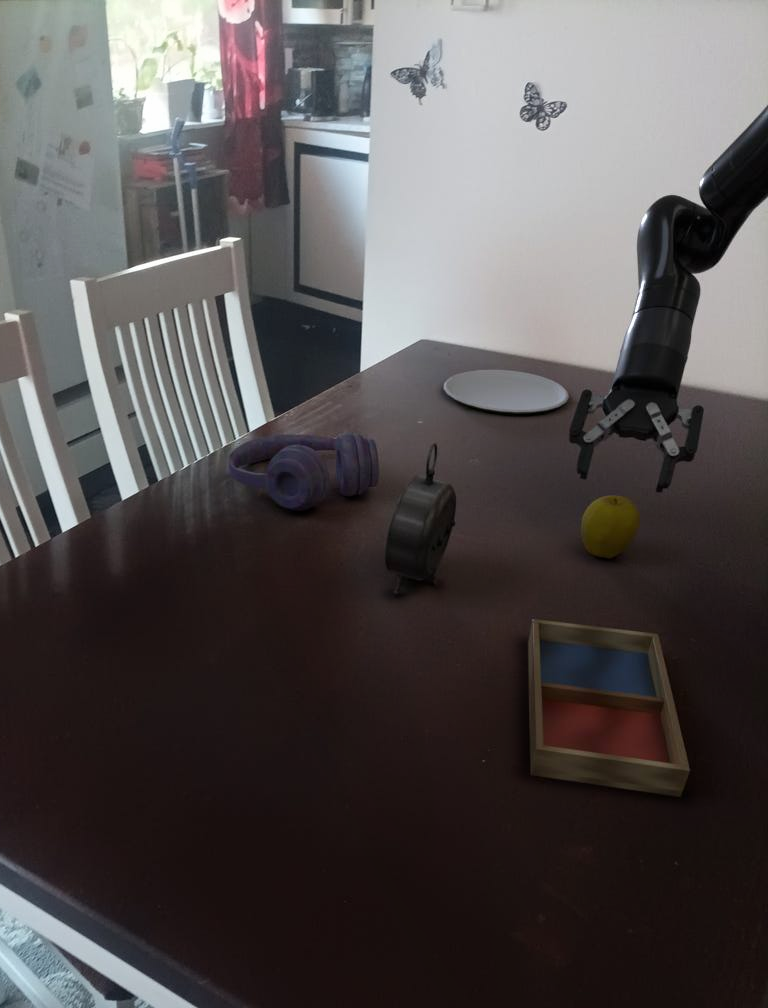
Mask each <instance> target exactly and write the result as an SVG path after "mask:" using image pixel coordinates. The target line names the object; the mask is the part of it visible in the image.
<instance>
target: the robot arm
mask: <svg viewBox="0 0 768 1008" xmlns="http://www.w3.org/2000/svg"><path fill="white" fill-rule="evenodd" d="M698 194H699V198H700V200H701V202H702V204H703V205H704V206H702V205H700V204H699V203H696V202H694V201H692V200H690V199H687V198H685V197H684V196H681V195H676V194H668V195H667V194H666V195H664V196H662V197H660V198H658V199H657V200H655V201H654V202H653V203H652V204H651V205H650V206H649V207H648V208H647V210H646V212H645V213H644V214H643V217H642V219H641V221H640V223H639V227H638V231H637V235H636V236H637V237H636V261H637V263H636V264H637V287H638V289H637V290H638V291H637V296H636V299H635V303H634V307H633V311H632V315H631V319H630V322H629V324H628V326H627V329H626V331H625V334H624V337H623V341H622V345H621V348H620V351H619V352H620V353H619V356H618V360H617V364H616V367H615V372H614V376H613V381H612V383H611V387H610V390H609V392H608V393H607V394H606V395H605V396H602V395H596V394H593V391H591V390H590V389H584V390H582V391H581V394H580V397H579V400H578V403H577V406H576V408H575V412H574V415H573V418H572V421H571V424H570V427H569V431H568V442H569V443H571V444H576V445H577V446H579V448H580V449H579V450H580V451H579V455H578V458H577V462H576V468H575V469H576V474H579V475H580V477H579V479H580V480H584V481H586V480H587V478H588V475H589V470H590V466H591V462H592V459H593V455H594V451H595V450H594V449H595V448H596V447H597V446H598V445H599V444H601V443H602V442H605V441H607V440H608V439H609V438H610V437H611V436H613V435H614V434H616V435H618V437H619V438H623V439H630V438H633V439H636V440H638V441H643V442H646V441H647V440H650V439H651V440H652V442H653V444H654V445H655V447H656V449H657V450H658V451H659V452H660V453H661V456H662V457H663V460H662V463H661V467H660V470H659V475H658V479H657V483H656V488H655V493H660V494H662V492H663V490H664V489H666V490H667V489H669V487H670V486H671V484H672V481H673V477H674V472H675V468H676V464H678V463H680V462H686V463H691V462H692V461H694V459H695V456H696V453H697V451H698V446H699V442H700V435H701V430H702V424H703V419H704V411H705V409H704V407H703V406H702V405H699V404H697V405H695V406H693V408H688V407H679V405H678V396H679V393H680V388H681V386H682V385H681V384H682V380H683V377H684V372H685V368H686V365H687V362H688V359H689V352H690V348H691V343H692V334H693V327H694V322H695V318H696V315H697V311H698V307H699V302H700V299H701V292H702V289H701V284H700V281H699V280H698V278H697V277H696V276H695V275H698V274H702V273H706V272H707V271H709V270H711V269H713V268H714V267H715V266H716V265H717V264H719V263H720V261H721V260H722V258H723V257H724V256H725V254H726V252H727V251H728V249H729V247H730V245H731V244H732V242H733V241H734V239H735V237H736V236H737V234H738V233H739V231H740V230H741V229H742V227H743V226H744V224H745V223H746V221H747V220H748V219H749V217H750V216H751V214H753V212H754V211H755V209H757V208H758V207H759V206H760V205H761V204H762V203H764V201H765V200H767V199H768V104H767V105H766V106H765V107H764V108H763V109H762V111H760V112H759V114H758V115H757V116H756V117H755V118H754V119H753V120H752V121H751V123H750V124H748V126H747V127H746V128H745V129H744V130H742V132H740V134H739V135H738V137H736V138H735V139H734V140H733V142H732V143H731V144H730V145H729V146H728V147H727V148H726V149H725V150H724V151H722V153H721V154H720V155H719V156H718V157H717V158H716V159H715V160H714V161H713V162H712V163H711V164H710V166H709V167H707V169H706V170H705V172H704V173H703V175H702V176H701V178H700V180H699V184H698ZM600 408H602V412H603V413H604V415H605V417H603V418H602V419H601V420H600V421H599V422H598V423H597V424H596V425H595V426H594V427H593V428H592V429H590V430H589V431H588V432H586V431H584V430H583V429H584V427H585V425H586V424H585V423H586V421H587V417H588V415H593V414H594V413H595V412H596V411H597V409H600ZM677 419H678V420H680V422H681V427H682V428H684V429H687V430H686V435H685V442H684V446H679V445H677V443H676V441H675V438H674V437H673V433H672V431H671V429H670V427H669V426H670V425H671V424H672V423H673V422H675V421H676V420H677Z"/></svg>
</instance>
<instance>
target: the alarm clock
mask: <svg viewBox="0 0 768 1008" xmlns="http://www.w3.org/2000/svg"><path fill="white" fill-rule="evenodd" d="M433 450H434V451H433ZM433 452H434V455H433V462H432V466H431V467H430V461H431V457H432V453H433ZM437 459H438V445H437V443H436V442H433V443H432V444H431V445H430V446H429V450H428V453H427V458H426V463H425V464H426V465H425V467H426V468H425V475H426V476H422V475H420V474H416V475H413V476H412V478H410V479H409V481H408V482H407V483H406V484H405V486H404V488H403V490H402V492H401V494H400V496H399V498H398V500H397V502H396V505H395V507H394V510H393V514H392V517H391V521H390V524H389V528H388V532H387V537H386V542H385V551H384V564H385V568H386V570H387V572H389V573H392V574H394V575H395V574H396V575H397V580H396V584H395V589H394V590H393V593H392V595H393V596H394V597H398V596H399V595H400V589H401V588H402V585H403V583H404V581H405V579H406V578H408V579H413V580H416V581H425V580H426V579H428V578H431V580H432V583H433V584H434V585H435V586H438V582H437V578H436V572H437V569H438V566H439V565H440V563H441V561H442V559H443V556H444V554H445V552H446V550H447V546H448V543H449V541H450V538H451V534H452V530H453V527H455V526H456V521H455V517H456V511H457V495H456V490H455V489H454V487H453V486H452V484H451V483H449V482H445V481H442V480H438V479H434V475H436V470H435V467H436V463H437Z"/></svg>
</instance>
